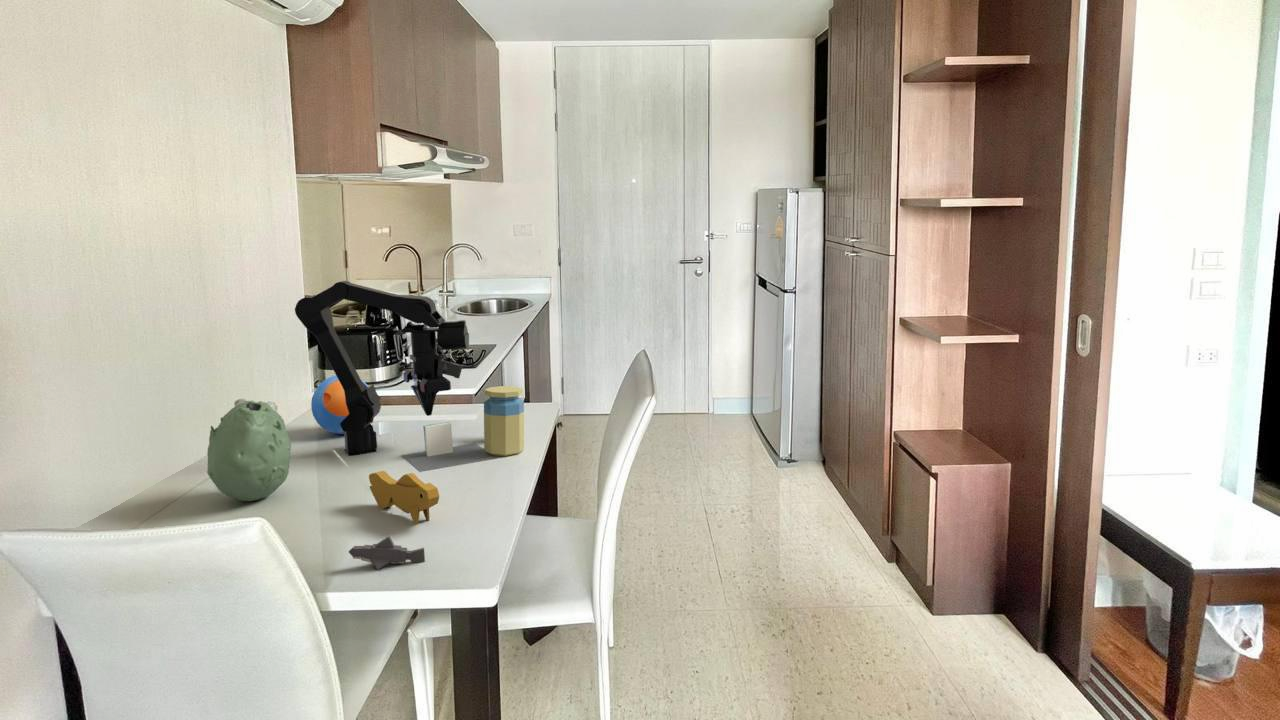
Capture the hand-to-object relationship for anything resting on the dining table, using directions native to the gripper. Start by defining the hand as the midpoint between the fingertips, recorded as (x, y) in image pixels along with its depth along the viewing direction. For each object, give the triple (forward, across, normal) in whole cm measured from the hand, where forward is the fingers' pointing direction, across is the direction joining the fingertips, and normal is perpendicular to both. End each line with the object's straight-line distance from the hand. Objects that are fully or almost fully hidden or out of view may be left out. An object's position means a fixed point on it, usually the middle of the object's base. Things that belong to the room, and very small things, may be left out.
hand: (428, 415), depth 210 cm
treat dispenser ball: (+9, +30, +14) cm, 34 cm away
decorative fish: (+9, -43, +18) cm, 47 cm away
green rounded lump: (+9, -15, +41) cm, 44 cm away
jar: (+8, -14, -13) cm, 21 cm away
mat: (+8, -10, -1) cm, 13 cm away
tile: (+8, -6, 0) cm, 10 cm away
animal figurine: (+9, -65, +26) cm, 71 cm away
